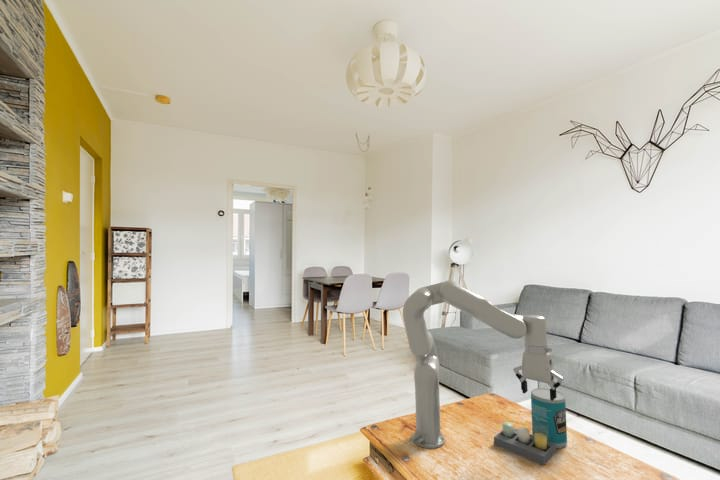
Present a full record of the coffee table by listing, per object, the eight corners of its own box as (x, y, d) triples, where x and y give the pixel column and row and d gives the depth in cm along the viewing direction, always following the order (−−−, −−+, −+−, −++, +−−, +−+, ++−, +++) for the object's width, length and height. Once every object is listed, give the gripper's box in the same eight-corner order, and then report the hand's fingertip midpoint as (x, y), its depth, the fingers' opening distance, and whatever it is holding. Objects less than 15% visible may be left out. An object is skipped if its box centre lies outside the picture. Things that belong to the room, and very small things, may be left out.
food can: (531, 430, 143) (529, 386, 144) (564, 435, 138) (562, 390, 139) (533, 444, 132) (531, 397, 133) (569, 451, 127) (567, 402, 128)
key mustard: (544, 451, 123) (544, 439, 123) (533, 446, 126) (532, 435, 126) (548, 446, 126) (548, 435, 126) (537, 442, 129) (536, 431, 129)
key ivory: (527, 444, 127) (527, 433, 127) (516, 440, 130) (516, 429, 130) (531, 440, 130) (531, 429, 130) (520, 436, 133) (520, 426, 133)
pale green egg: (511, 438, 132) (510, 428, 132) (501, 434, 135) (500, 424, 135) (515, 434, 134) (515, 424, 135) (505, 431, 137) (505, 420, 138)
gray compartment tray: (544, 465, 119) (543, 456, 120) (494, 445, 132) (493, 437, 133) (555, 451, 128) (555, 443, 128) (507, 433, 141) (507, 426, 141)
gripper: (565, 351, 124) (567, 399, 123) (516, 343, 137) (518, 387, 136) (558, 355, 119) (561, 405, 118) (508, 347, 131) (510, 392, 131)
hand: (538, 395), depth 127 cm, fingers open, 9 cm apart
